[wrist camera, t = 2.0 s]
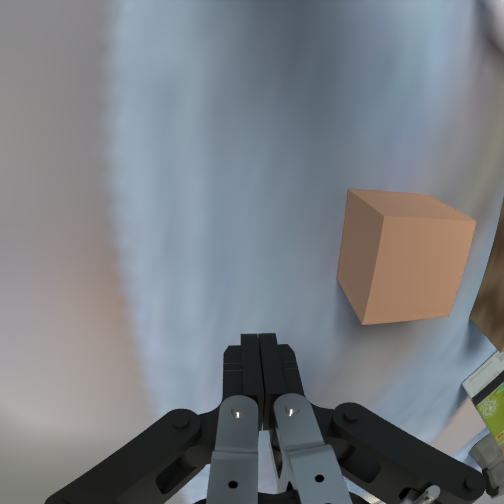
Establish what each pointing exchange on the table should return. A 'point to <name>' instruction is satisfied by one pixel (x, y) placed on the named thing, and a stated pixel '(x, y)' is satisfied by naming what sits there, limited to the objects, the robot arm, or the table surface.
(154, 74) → the table surface
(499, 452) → the coffeepot
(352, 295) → the terracotta block
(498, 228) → the walnut board
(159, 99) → the table surface
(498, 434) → the tea box
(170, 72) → the table surface
